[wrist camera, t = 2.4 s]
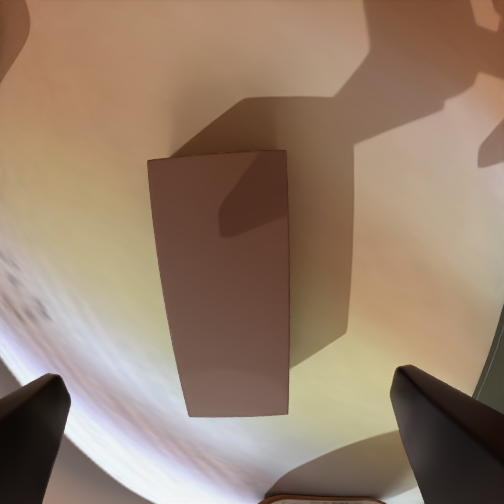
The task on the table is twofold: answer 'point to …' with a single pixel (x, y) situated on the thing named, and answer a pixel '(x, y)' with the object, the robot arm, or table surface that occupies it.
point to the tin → (318, 500)
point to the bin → (493, 373)
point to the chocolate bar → (226, 278)
